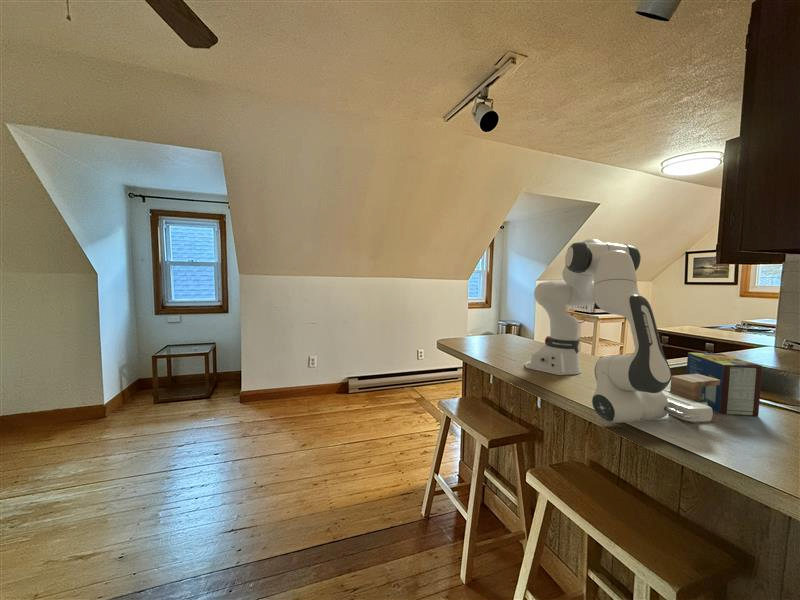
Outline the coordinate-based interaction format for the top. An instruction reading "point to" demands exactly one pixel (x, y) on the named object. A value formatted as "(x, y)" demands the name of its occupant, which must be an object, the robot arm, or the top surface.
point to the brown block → (691, 388)
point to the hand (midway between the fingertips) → (686, 398)
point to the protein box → (728, 383)
